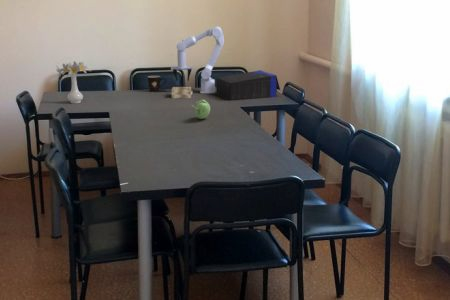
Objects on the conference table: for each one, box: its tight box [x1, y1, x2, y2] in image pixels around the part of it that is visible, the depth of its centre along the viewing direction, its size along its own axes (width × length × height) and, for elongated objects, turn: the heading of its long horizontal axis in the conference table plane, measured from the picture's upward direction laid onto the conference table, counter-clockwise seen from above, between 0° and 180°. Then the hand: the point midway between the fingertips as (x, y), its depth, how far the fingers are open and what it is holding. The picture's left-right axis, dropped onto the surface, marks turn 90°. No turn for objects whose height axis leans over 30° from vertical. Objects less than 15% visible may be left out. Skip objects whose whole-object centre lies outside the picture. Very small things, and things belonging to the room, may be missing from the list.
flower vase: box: [55, 61, 88, 104], centre depth 352 cm, size 13×18×25 cm
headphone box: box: [215, 69, 281, 102], centre depth 374 cm, size 25×35×14 cm
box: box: [171, 86, 192, 99], centre depth 373 cm, size 12×12×5 cm
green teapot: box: [190, 99, 211, 120], centre depth 308 cm, size 12×11×11 cm
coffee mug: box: [147, 75, 167, 93], centre depth 390 cm, size 12×9×10 cm
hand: (182, 80), depth 385 cm, fingers open, 7 cm apart
